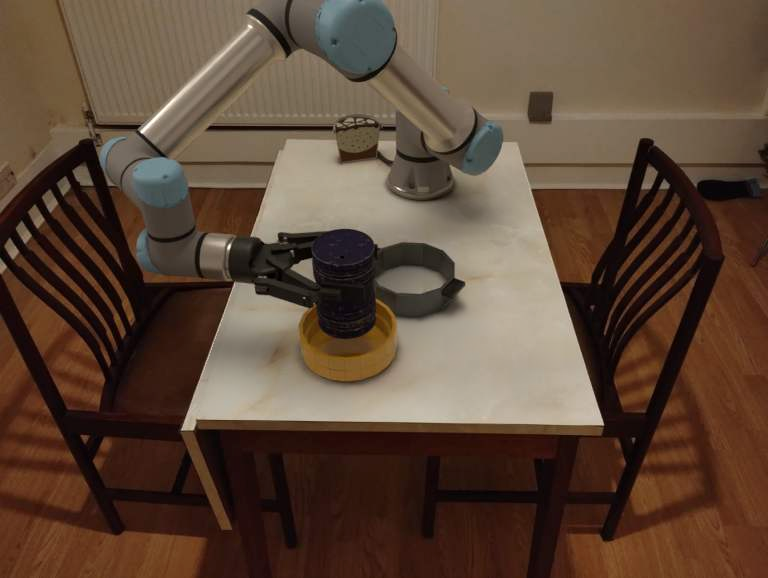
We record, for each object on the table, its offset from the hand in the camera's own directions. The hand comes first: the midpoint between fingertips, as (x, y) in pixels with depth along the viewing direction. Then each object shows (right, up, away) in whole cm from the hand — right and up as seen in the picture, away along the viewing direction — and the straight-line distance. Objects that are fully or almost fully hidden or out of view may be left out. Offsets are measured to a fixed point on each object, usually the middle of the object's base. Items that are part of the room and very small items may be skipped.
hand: (371, 272), depth 104 cm
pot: (+7, -3, +24) cm, 25 cm away
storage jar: (-4, -8, +7) cm, 12 cm away
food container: (-5, +31, +66) cm, 73 cm away
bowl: (-4, -13, +11) cm, 18 cm away
